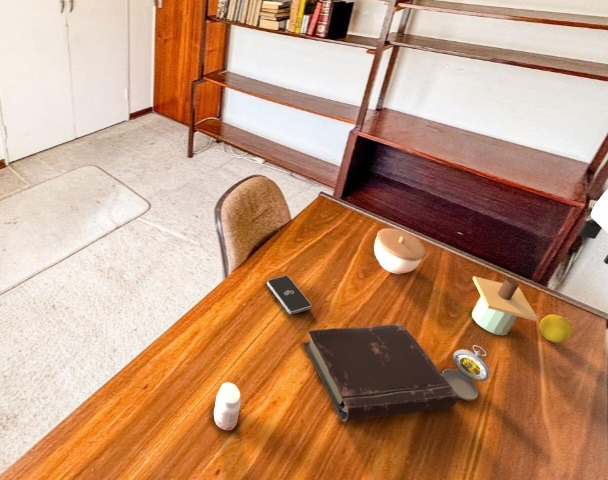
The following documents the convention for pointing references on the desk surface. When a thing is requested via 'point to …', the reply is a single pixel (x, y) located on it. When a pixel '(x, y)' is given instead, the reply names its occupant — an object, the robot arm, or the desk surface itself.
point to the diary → (377, 372)
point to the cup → (492, 319)
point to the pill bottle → (227, 406)
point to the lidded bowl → (398, 250)
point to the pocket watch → (467, 373)
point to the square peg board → (504, 297)
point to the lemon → (555, 328)
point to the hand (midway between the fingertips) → (598, 249)
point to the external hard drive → (289, 295)
